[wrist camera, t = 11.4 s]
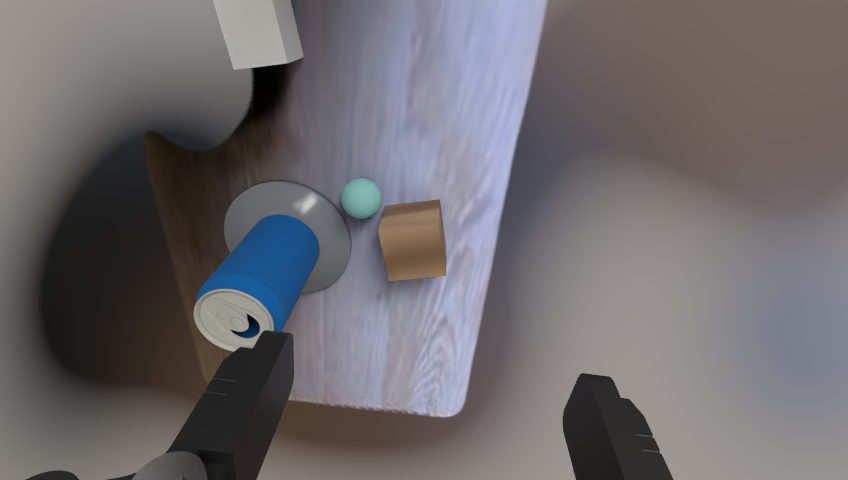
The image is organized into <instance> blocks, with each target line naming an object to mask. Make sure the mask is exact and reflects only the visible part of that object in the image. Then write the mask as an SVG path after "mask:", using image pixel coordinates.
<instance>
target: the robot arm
mask: <svg viewBox="0 0 848 480" xmlns="http://www.w3.org/2000/svg"><path fill="white" fill-rule="evenodd" d="M293 379H294V351H293V335H292V334H291V333H284V332H276V331H269V330H264V331H263V332H262V333H261V335H260V336H259V338H258V340H257V342H256V344H255V345H254V347H253V348H246V347H239V348H238V349H237V350H236V351H234V352H233V353H232V354H231V355H229V356H228V357H227V358H226V359H224V360H223V362H222V364H221V365H220V367H219V369H218V370H217V372H216V373H215V375H214V378H213V380H211V382H210V383H209V385H208V387H207V388H206V390H205V393H204V394H203V395H202V396H201V398H200V400H199V402H198V403H197V404H196V406H195V408H194V409H193V411H192V413H191V414H190V416H189V418H188V419H187V421H186V422H185V424H184V426H183V427H182V429H181V431H180V432H179V434H178V435H177V437H176V439H175V440H174V442H173V444H172V445H171V447H170V448H169V450H168V451H167V452H166V453H165V454H163V455H161V456H159V457H156V458H155V459H153V460H151V461H150V462H148V463H147V464H146V465H144V466H143V467H142V468H141V469H140V470H139V471H138V472H137V473H134V474H131V475H128V476H125V477H119V478H114V479H108V480H256V479H257V476H258V474H259V471H260V469H261V466H262V463H263V461H264V458H265V456H266V454H267V451H268V448H269V446H270V443H271V441H272V438H273V436H274V433H275V431H276V428H277V426H278V423H279V421H280V418H281V415H282V413H283V411H284V408H285V406H286V403H287V400H288V398H289V395H290V392H291V389H292V384H293ZM563 431H564V435H565V439H566V443H567V446H568V450H569V454H570V458H571V462H572V466H573V469H574V473H575V477H576V480H673V478H672V476H671V474H670V471H669V469H668V467H667V465H666V463H665V460H664V458H663V456H662V454H660V452H659V451H660V450H659V447H658V445H657V443H656V441H655V439H654V438H653V437H652V435H653V434H652V432H651V430H650V428H649V426H648V424H647V421H646V419H645V417H644V416H643V414H642V413H641V412H640V411H639V410H638V409H637V408H636V407H635V405H634V404H633V403H632V402H631V401H630V400H629V399H624V398H621V397H620V395H619V393H618V390H617V388H616V386H615V383H614V381H613V380H612V378H611V377H607V376H599V375H592V374H584V373H582V374H580V375H579V377H578V379H577V381H576V384H575V386H574V388H573V391H572V393H571V395H570V398H569V400H568V402H567V405H566V407H565V409H564V413H563ZM26 480H79V479H78V478H77V476H75V475H74V474H73V473H70V472H67V471H49V472H45V473H41V474H38V475H35V476H33V477H31V478H29V479H26Z"/></svg>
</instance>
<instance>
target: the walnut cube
mask: <svg viewBox="0 0 848 480" xmlns="http://www.w3.org/2000/svg"><path fill="white" fill-rule="evenodd" d="M378 234H379V239H380V243H381V248H382V252H383V257H384V262H385V266H386V271H387V275H388V280H389V281H398V280H408V279H419V278H429V277H440V276H446V242H445V235H444V228H443V221H442V213H441V206H440V200H432V201H423V202H414V203H405V204H397V205H388V206H385V208H384V212H383V215H382V218H381V221H380V225H379V228H378Z"/></svg>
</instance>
